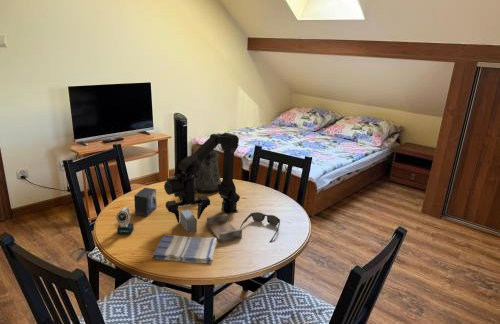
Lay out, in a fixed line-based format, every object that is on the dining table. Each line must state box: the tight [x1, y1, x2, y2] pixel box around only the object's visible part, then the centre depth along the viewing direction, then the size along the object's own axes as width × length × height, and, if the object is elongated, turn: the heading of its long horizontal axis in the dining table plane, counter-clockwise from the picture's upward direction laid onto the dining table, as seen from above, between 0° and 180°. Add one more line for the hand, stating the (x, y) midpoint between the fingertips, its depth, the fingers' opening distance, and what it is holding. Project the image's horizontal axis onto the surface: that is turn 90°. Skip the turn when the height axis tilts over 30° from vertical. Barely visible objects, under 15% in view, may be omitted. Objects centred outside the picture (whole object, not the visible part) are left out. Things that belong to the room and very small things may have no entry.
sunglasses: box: [239, 211, 281, 243], centre depth 156 cm, size 16×17×5 cm
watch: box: [115, 207, 135, 236], centre depth 147 cm, size 6×8×11 cm
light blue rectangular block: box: [179, 208, 198, 234], centre depth 155 cm, size 4×11×6 cm, turn 28°
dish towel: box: [151, 234, 218, 264], centre depth 138 cm, size 17×24×3 cm
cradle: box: [206, 213, 243, 244], centre depth 153 cm, size 10×16×4 cm, turn 28°
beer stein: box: [195, 149, 222, 195], centre depth 194 cm, size 16×19×25 cm
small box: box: [133, 187, 157, 218], centre depth 166 cm, size 11×6×10 cm, turn 168°
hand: (188, 220), depth 155 cm, fingers open, 9 cm apart
